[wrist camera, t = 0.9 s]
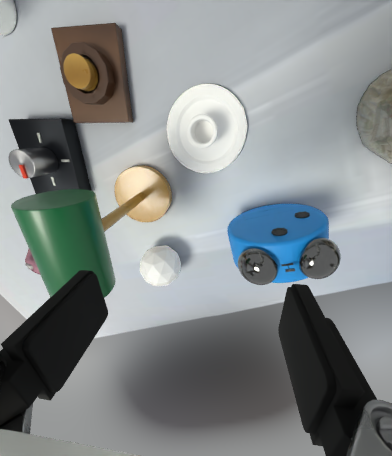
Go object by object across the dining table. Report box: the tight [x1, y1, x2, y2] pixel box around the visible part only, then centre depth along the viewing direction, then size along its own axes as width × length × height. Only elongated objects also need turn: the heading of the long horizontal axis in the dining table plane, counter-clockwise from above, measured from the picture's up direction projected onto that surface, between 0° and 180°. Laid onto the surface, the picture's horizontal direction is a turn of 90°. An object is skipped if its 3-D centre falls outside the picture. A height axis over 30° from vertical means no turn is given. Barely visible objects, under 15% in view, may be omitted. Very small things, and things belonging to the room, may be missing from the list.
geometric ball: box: [140, 246, 181, 286], centre depth 38 cm, size 8×8×8 cm
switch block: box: [51, 23, 133, 123], centre depth 28 cm, size 11×9×4 cm
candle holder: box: [167, 84, 247, 173], centre depth 28 cm, size 12×12×4 cm
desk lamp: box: [11, 165, 172, 297], centre depth 26 cm, size 10×10×22 cm
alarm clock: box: [228, 204, 341, 285], centre depth 28 cm, size 13×6×15 cm, turn 105°
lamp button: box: [64, 53, 98, 91], centre depth 26 cm, size 4×4×2 cm
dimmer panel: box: [9, 119, 91, 194], centre depth 34 cm, size 12×9×3 cm
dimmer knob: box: [9, 147, 58, 178], centre depth 30 cm, size 4×4×5 cm
